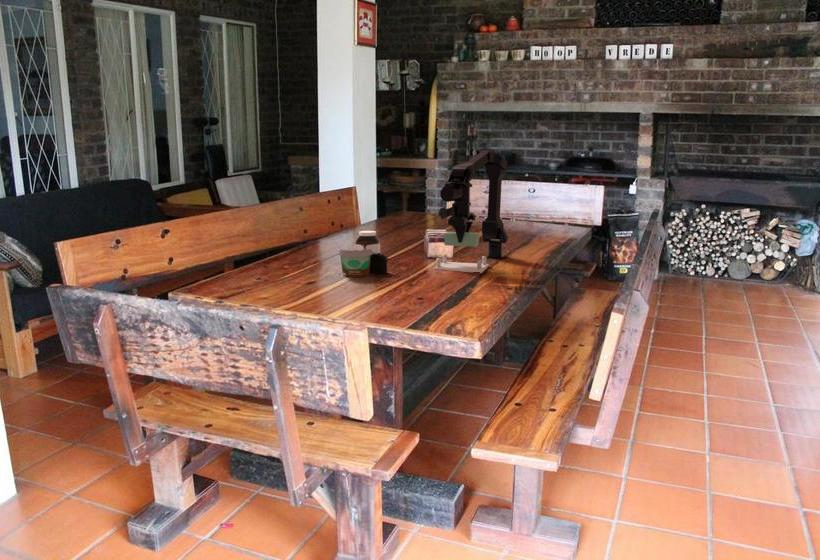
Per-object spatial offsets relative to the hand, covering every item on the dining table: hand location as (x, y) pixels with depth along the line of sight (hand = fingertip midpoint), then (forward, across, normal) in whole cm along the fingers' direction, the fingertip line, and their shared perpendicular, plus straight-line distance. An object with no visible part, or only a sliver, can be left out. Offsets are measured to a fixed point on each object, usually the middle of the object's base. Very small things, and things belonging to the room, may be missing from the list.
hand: (461, 241), depth 274 cm
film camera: (+11, +16, -31) cm, 37 cm away
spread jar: (+11, -9, -43) cm, 45 cm away
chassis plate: (+10, 0, 0) cm, 11 cm away
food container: (+11, +26, -32) cm, 43 cm away
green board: (+1, 0, 0) cm, 1 cm away
